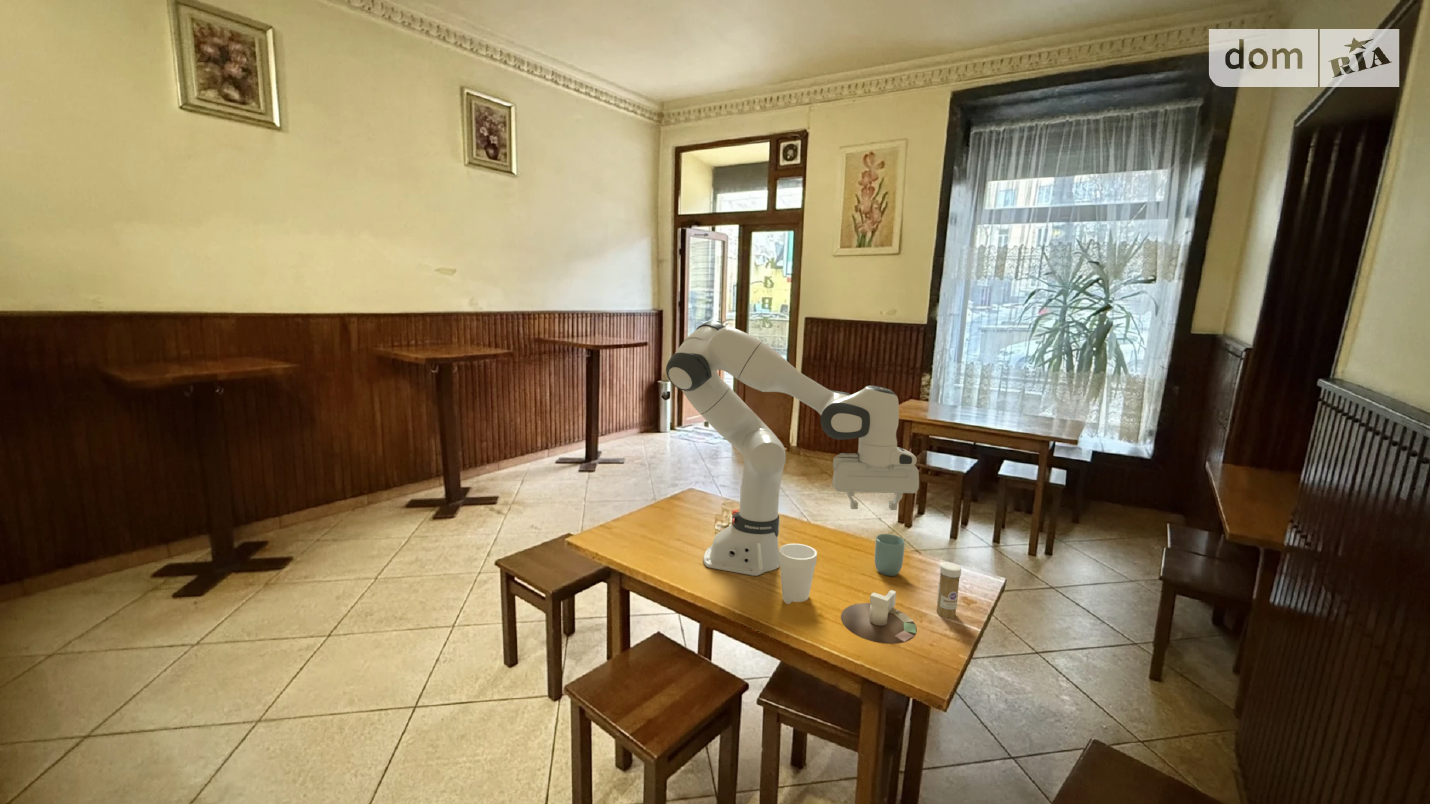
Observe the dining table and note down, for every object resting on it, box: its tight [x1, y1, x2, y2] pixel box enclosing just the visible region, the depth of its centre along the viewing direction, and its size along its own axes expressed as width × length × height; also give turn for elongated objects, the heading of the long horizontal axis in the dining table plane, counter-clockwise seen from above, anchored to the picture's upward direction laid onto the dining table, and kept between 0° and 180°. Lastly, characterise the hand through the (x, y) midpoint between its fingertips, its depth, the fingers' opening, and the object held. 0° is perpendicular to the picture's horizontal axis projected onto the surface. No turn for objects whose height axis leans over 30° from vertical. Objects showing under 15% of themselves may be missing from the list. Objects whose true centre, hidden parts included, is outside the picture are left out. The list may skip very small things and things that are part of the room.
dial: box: [840, 602, 918, 645], centre depth 131 cm, size 17×17×1 cm
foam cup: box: [779, 543, 818, 605], centre depth 141 cm, size 10×9×13 cm
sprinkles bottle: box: [936, 561, 962, 619], centre depth 134 cm, size 5×5×13 cm
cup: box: [874, 533, 906, 577], centre depth 157 cm, size 8×8×10 cm
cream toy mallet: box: [869, 589, 897, 626], centre depth 133 cm, size 11×4×6 cm, turn 142°
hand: (873, 508), depth 137 cm, fingers open, 8 cm apart
